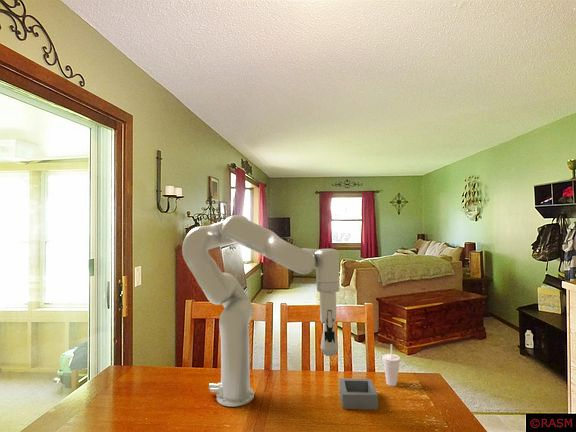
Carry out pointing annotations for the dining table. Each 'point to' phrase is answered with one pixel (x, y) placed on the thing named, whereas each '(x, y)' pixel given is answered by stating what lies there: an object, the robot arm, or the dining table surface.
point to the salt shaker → (328, 344)
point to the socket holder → (358, 394)
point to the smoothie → (391, 368)
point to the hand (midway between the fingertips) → (329, 341)
